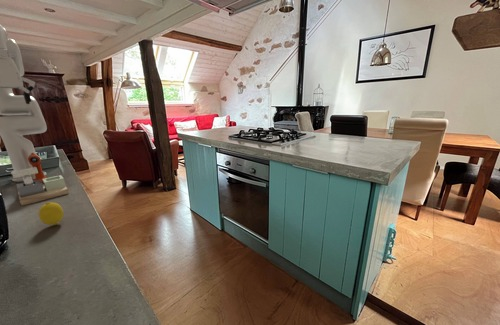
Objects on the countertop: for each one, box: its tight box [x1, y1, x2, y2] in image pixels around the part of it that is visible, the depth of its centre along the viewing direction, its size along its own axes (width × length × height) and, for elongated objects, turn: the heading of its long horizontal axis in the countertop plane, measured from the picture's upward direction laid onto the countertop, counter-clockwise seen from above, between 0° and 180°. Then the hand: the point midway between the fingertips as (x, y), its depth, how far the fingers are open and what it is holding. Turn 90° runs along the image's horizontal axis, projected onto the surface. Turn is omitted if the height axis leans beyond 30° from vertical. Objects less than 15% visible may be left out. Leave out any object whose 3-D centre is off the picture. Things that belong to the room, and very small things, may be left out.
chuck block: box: [16, 179, 45, 198], centre depth 87 cm, size 7×7×4 cm
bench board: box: [17, 185, 70, 206], centre depth 90 cm, size 14×14×2 cm
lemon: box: [38, 201, 65, 226], centre depth 67 cm, size 6×6×8 cm
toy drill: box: [28, 153, 48, 185], centre depth 100 cm, size 5×19×15 cm, turn 46°
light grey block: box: [10, 167, 38, 186], centre depth 86 cm, size 7×3×10 cm, turn 139°
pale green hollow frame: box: [42, 174, 67, 191], centre depth 92 cm, size 6×6×4 cm
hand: (10, 104), depth 80 cm, fingers open, 9 cm apart
